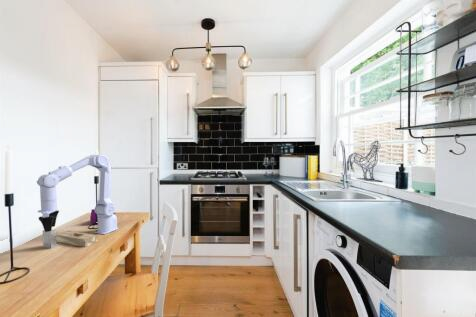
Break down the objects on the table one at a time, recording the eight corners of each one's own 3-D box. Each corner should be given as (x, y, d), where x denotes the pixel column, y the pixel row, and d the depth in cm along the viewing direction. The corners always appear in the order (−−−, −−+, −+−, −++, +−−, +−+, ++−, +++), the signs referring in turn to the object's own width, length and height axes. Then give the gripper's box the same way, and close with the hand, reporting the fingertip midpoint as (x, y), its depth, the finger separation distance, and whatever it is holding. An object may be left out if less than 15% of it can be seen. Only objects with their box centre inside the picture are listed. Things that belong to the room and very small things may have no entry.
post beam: (68, 237, 125) (67, 230, 125) (97, 241, 118) (97, 235, 117) (55, 241, 119) (54, 234, 119) (85, 246, 112) (85, 239, 111)
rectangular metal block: (48, 245, 115) (48, 229, 115) (56, 246, 113) (56, 230, 112) (43, 247, 113) (42, 230, 112) (51, 248, 110) (50, 231, 110)
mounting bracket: (101, 227, 160) (89, 223, 144) (102, 214, 164) (91, 209, 147) (115, 226, 162) (105, 222, 145) (117, 214, 165) (107, 208, 149)
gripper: (41, 198, 113) (43, 226, 114) (32, 204, 100) (34, 235, 101) (59, 196, 116) (61, 223, 117) (53, 202, 104) (54, 232, 104)
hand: (50, 229), depth 109 cm, fingers open, 7 cm apart
